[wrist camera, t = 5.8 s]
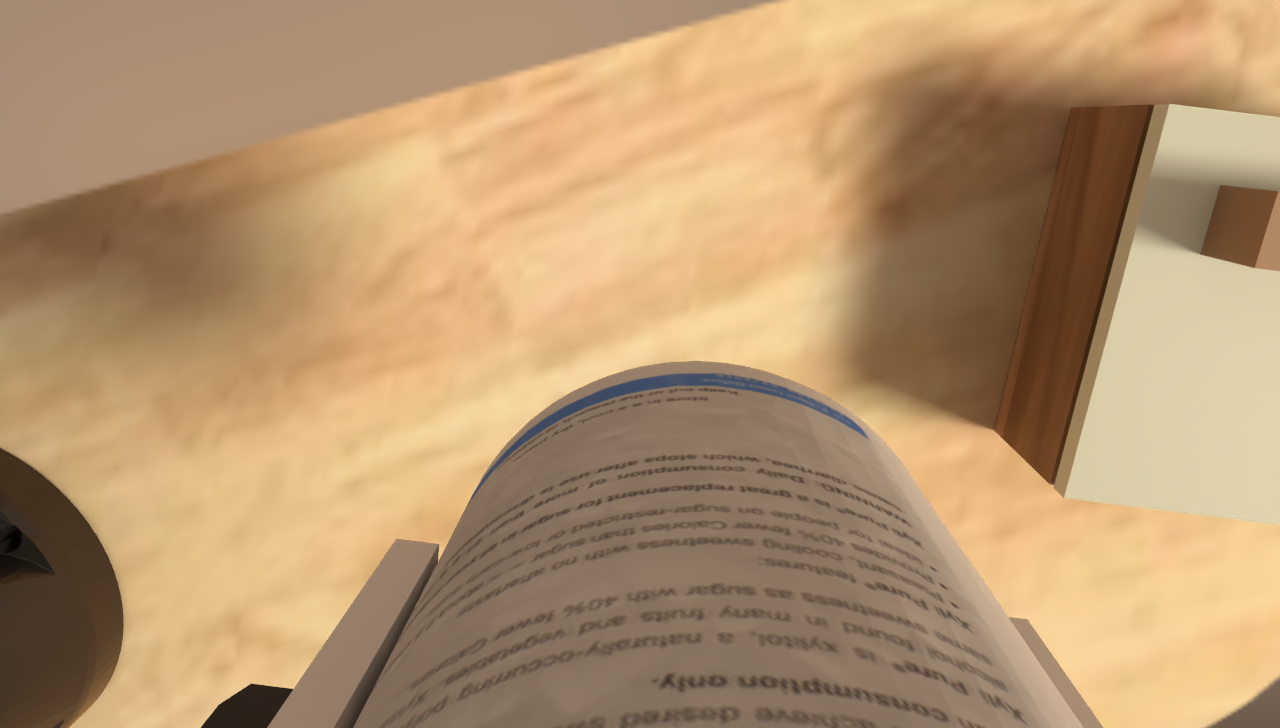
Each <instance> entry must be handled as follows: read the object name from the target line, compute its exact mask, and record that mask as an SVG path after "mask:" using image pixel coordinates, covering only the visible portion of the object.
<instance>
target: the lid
mask: <svg viewBox="0 0 1280 728" xmlns="http://www.w3.org/2000/svg"><path fill="white" fill-rule="evenodd" d="M1054 489H1055V490H1056V491H1057V492H1058V493H1059V494H1060V495H1061V496H1062V497H1063V498H1068V499H1076V500H1084V501H1092V502H1100V503H1108V504H1116V505H1124V506H1132V507H1140V508H1148V509H1156V510H1164V511H1172V512H1180V513H1188V514H1196V515H1204V516H1211V517H1219V518H1227V519H1235V520H1243V521H1251V522H1259V523H1267V524H1275V525H1280V117H1275V116H1267V115H1258V114H1250V113H1242V112H1234V111H1225V110H1217V109H1209V108H1200V107H1192V106H1184V105H1175V104H1155V105H1154V109H1153V112H1152V116H1151V120H1150V124H1149V128H1148V131H1147V135H1146V139H1145V143H1144V147H1143V150H1142V154H1141V158H1140V162H1139V166H1138V169H1137V173H1136V177H1135V181H1134V184H1133V188H1132V192H1131V196H1130V200H1129V203H1128V207H1127V211H1126V215H1125V219H1124V222H1123V226H1122V230H1121V234H1120V238H1119V241H1118V245H1117V249H1116V253H1115V257H1114V260H1113V264H1112V268H1111V272H1110V275H1109V279H1108V283H1107V287H1106V291H1105V294H1104V298H1103V302H1102V306H1101V310H1100V313H1099V317H1098V321H1097V325H1096V329H1095V332H1094V336H1093V340H1092V344H1091V348H1090V351H1089V355H1088V359H1087V363H1086V367H1085V370H1084V374H1083V378H1082V382H1081V385H1080V389H1079V393H1078V397H1077V401H1076V404H1075V408H1074V412H1073V416H1072V420H1071V423H1070V427H1069V431H1068V435H1067V439H1066V442H1065V446H1064V450H1063V454H1062V458H1061V461H1060V465H1059V469H1058V473H1057V476H1056V480H1055V484H1054Z"/></svg>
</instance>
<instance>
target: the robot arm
mask: <svg viewBox="0 0 1280 728" xmlns="http://www.w3.org/2000/svg"><path fill="white" fill-rule="evenodd" d="M438 552H439V544H433V543H425V542H417V541H409V540H401V539H396V540H395V542H394V543H393V545H392V546H391V548H390V549H389V551H388V552H387V553H386V555H385V556H384V558H383V559H382V561H381V562H380V564H379V565H378V567H377V568H376V570H375V571H374V572H373V574H372V575H371V577H370V578H369V580H368V581H367V583H366V584H365V586H364V587H363V589H362V590H361V591H360V593H359V594H358V596H357V597H356V599H355V600H354V602H353V603H352V605H351V606H350V607H349V609H348V610H347V612H346V613H345V615H344V616H343V618H342V619H341V621H340V622H339V624H338V625H337V626H336V628H335V629H334V631H333V632H332V634H331V635H330V637H329V638H328V640H327V641H326V643H325V644H324V645H323V647H322V648H321V650H320V651H319V653H318V654H317V656H316V657H315V659H314V660H313V662H312V663H311V664H310V666H309V667H308V669H307V670H306V672H305V673H304V675H303V676H302V678H301V679H300V681H299V682H298V683H297V685H296V686H295V688H294V689H288V688H280V687H272V686H265V685H257V684H250V685H249V686H247V687H246V688H244V689H242V690H241V691H239V692H238V693H236V694H235V695H233V696H232V697H230V698H229V699H227V700H226V701H224V702H222V703H221V704H219V705H218V707H217V708H216V709H215V710H214V712H213V713H212V714H211V715H210V717H209V718H208V719H207V720H206V722H205V723H204V724H203V725H202V727H201V728H353V727H354V725H355V723H356V721H357V719H358V717H359V715H360V714H361V712H362V710H363V708H364V706H365V704H366V702H367V700H368V698H369V696H370V694H371V692H372V690H373V688H374V686H375V684H376V682H377V680H378V678H379V676H380V674H381V672H382V670H383V669H384V667H385V665H386V663H387V661H388V659H389V657H390V655H391V653H392V651H393V649H394V647H395V645H396V643H397V641H398V639H399V637H400V635H401V633H402V631H403V629H404V627H405V625H406V623H407V622H408V620H409V618H410V616H411V614H412V612H413V610H414V608H415V606H416V604H417V602H418V600H419V598H420V596H421V594H422V592H423V590H424V588H425V586H426V584H427V582H428V580H429V578H430V577H431V575H432V573H433V571H434V569H435V567H436V565H437V563H438ZM1009 619H1010V620H1011V622H1012V623H1013V625H1014V626H1015V628H1016V629H1017V631H1018V632H1019V634H1020V635H1021V637H1022V638H1023V640H1024V641H1025V643H1026V644H1027V645H1028V647H1029V648H1030V650H1031V651H1032V653H1033V654H1034V656H1035V657H1036V659H1037V660H1038V662H1039V663H1040V665H1041V666H1042V668H1043V669H1044V671H1045V672H1046V673H1047V675H1048V676H1049V678H1050V679H1051V681H1052V682H1053V684H1054V685H1055V687H1056V688H1057V690H1058V691H1059V693H1060V694H1061V695H1062V697H1063V698H1064V700H1065V701H1066V703H1067V704H1068V706H1069V707H1070V709H1071V710H1072V712H1073V713H1074V714H1075V716H1076V717H1077V719H1078V720H1079V722H1080V723H1081V725H1082V726H1083V728H1103V727H1102V725H1101V724H1100V722H1099V721H1098V719H1097V718H1096V717H1095V715H1094V714H1093V712H1092V711H1091V709H1090V708H1089V707H1088V705H1087V704H1086V702H1085V701H1084V700H1083V698H1082V697H1081V695H1080V694H1079V692H1078V691H1077V690H1076V688H1075V687H1074V685H1073V684H1072V682H1071V681H1070V680H1069V678H1068V677H1067V675H1066V674H1065V672H1064V671H1063V670H1062V668H1061V667H1060V665H1059V664H1058V662H1057V661H1056V660H1055V658H1054V657H1053V655H1052V654H1051V652H1050V651H1049V650H1048V648H1047V647H1046V645H1045V644H1044V643H1043V641H1042V640H1041V638H1040V637H1039V635H1038V634H1037V633H1036V631H1035V630H1034V628H1033V627H1032V625H1031V624H1030V623H1029V621H1028V620H1027V619H1019V618H1012V617H1009ZM122 639H123V608H122V601H121V595H120V591H119V587H118V583H117V579H116V576H115V573H114V570H113V568H112V565H111V563H110V560H109V558H108V556H107V554H106V552H105V550H104V548H103V546H102V544H101V542H100V541H99V539H98V537H97V536H96V534H95V533H94V531H93V530H92V528H91V527H90V525H89V524H88V522H87V521H86V520H85V518H84V517H83V516H82V515H81V513H80V512H79V511H78V510H77V509H76V507H75V506H74V505H73V504H72V503H71V502H70V501H69V500H68V499H67V498H66V497H65V496H64V495H63V494H62V493H61V492H60V491H59V490H58V489H57V488H56V487H55V486H54V485H52V484H51V483H50V482H49V481H48V480H47V479H45V478H44V477H43V476H41V475H40V474H39V473H38V472H36V471H35V470H33V469H32V468H30V467H29V466H27V465H26V464H24V463H23V462H21V461H19V460H18V459H16V458H14V457H13V456H11V455H9V454H7V453H5V452H3V451H1V450H0V728H69V727H70V726H71V725H72V724H73V723H74V722H75V721H76V720H77V719H78V718H79V717H80V716H81V715H82V714H83V713H84V712H85V711H86V710H87V709H88V708H89V707H90V706H91V705H92V704H93V703H94V702H95V701H96V700H97V699H98V697H99V696H100V695H101V693H102V692H103V691H104V689H105V687H106V686H107V684H108V682H109V681H110V679H111V677H112V674H113V672H114V670H115V667H116V665H117V662H118V658H119V655H120V651H121V645H122Z"/></svg>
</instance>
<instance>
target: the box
mask: <svg viewBox="0 0 1280 728" xmlns="http://www.w3.org/2000/svg"><path fill="white" fill-rule="evenodd" d="M1153 109H1154V105H1131V106H1108V107H1085V108H1072V110H1071V114H1070V118H1069V122H1068V127H1067V131H1066V135H1065V139H1064V143H1063V147H1062V152H1061V156H1060V160H1059V164H1058V168H1057V172H1056V177H1055V181H1054V185H1053V189H1052V193H1051V197H1050V202H1049V206H1048V210H1047V214H1046V218H1045V223H1044V227H1043V231H1042V235H1041V239H1040V243H1039V248H1038V252H1037V256H1036V260H1035V264H1034V268H1033V273H1032V277H1031V281H1030V285H1029V289H1028V293H1027V298H1026V302H1025V306H1024V310H1023V314H1022V319H1021V323H1020V327H1019V331H1018V335H1017V339H1016V344H1015V348H1014V352H1013V356H1012V360H1011V364H1010V369H1009V373H1008V377H1007V381H1006V385H1005V389H1004V394H1003V398H1002V402H1001V406H1000V410H999V415H998V419H997V423H996V427H995V432H996V433H997V434H999V435H1000V436H1001V437H1002V438H1003V439H1004V440H1005V441H1006V442H1007V443H1008V444H1009V445H1010V446H1011V447H1012V448H1013V449H1014V450H1015V451H1016V452H1017V453H1018V454H1019V455H1020V456H1021V457H1022V458H1023V459H1024V460H1025V461H1026V462H1027V463H1028V464H1029V465H1030V466H1032V467H1033V468H1034V469H1035V470H1036V471H1037V472H1038V473H1039V474H1040V475H1041V476H1042V477H1043V478H1044V479H1045V480H1046V481H1047V482H1048V483H1049V484H1052V485H1054V484H1055V480H1056V476H1057V473H1058V469H1059V465H1060V461H1061V458H1062V454H1063V450H1064V446H1065V442H1066V439H1067V435H1068V431H1069V427H1070V423H1071V420H1072V416H1073V412H1074V408H1075V404H1076V401H1077V397H1078V393H1079V389H1080V385H1081V382H1082V378H1083V374H1084V370H1085V367H1086V363H1087V359H1088V355H1089V351H1090V348H1091V344H1092V340H1093V336H1094V332H1095V329H1096V325H1097V321H1098V317H1099V313H1100V310H1101V306H1102V302H1103V298H1104V294H1105V291H1106V287H1107V283H1108V279H1109V275H1110V272H1111V268H1112V264H1113V260H1114V257H1115V253H1116V249H1117V245H1118V241H1119V238H1120V234H1121V230H1122V226H1123V222H1124V219H1125V215H1126V211H1127V207H1128V203H1129V200H1130V196H1131V192H1132V188H1133V184H1134V181H1135V177H1136V173H1137V169H1138V166H1139V162H1140V158H1141V154H1142V150H1143V147H1144V143H1145V139H1146V135H1147V131H1148V128H1149V124H1150V120H1151V116H1152V112H1153Z"/></svg>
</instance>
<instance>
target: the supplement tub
mask: <svg viewBox="0 0 1280 728" xmlns="http://www.w3.org/2000/svg"><path fill="white" fill-rule="evenodd" d="M353 728H1083V726H1082V725H1081V723H1080V722H1079V720H1078V719H1077V717H1076V716H1075V714H1074V713H1073V712H1072V710H1071V709H1070V707H1069V706H1068V704H1067V703H1066V701H1065V700H1064V698H1063V697H1062V695H1061V694H1060V693H1059V691H1058V690H1057V688H1056V687H1055V685H1054V684H1053V682H1052V681H1051V679H1050V678H1049V676H1048V675H1047V673H1046V672H1045V671H1044V669H1043V668H1042V666H1041V665H1040V663H1039V662H1038V660H1037V659H1036V657H1035V656H1034V654H1033V653H1032V651H1031V650H1030V648H1029V647H1028V645H1027V644H1026V643H1025V641H1024V640H1023V638H1022V637H1021V635H1020V634H1019V632H1018V631H1017V629H1016V628H1015V626H1014V625H1013V623H1012V622H1011V620H1010V619H1009V617H1008V616H1007V615H1006V613H1005V612H1004V610H1003V609H1002V607H1001V606H1000V604H999V603H998V601H997V600H996V598H995V597H994V595H993V594H992V592H991V591H990V590H989V588H988V587H987V585H986V584H985V582H984V581H983V580H982V578H981V577H980V575H979V574H978V572H977V571H976V569H975V568H974V567H973V565H972V564H971V562H970V561H969V559H968V558H967V556H966V555H965V554H964V552H963V551H962V549H961V548H960V546H959V545H958V544H957V542H956V541H955V539H954V538H953V536H952V535H951V533H950V532H949V530H948V529H947V528H946V526H945V525H944V523H943V522H942V520H941V519H940V517H939V516H938V515H937V513H936V512H935V510H934V509H933V507H932V506H931V504H930V503H929V501H928V500H927V498H926V497H925V496H924V494H923V493H922V491H921V490H920V488H919V487H918V485H917V484H916V482H915V481H914V479H913V477H912V476H911V474H910V473H909V471H908V470H907V469H906V467H905V466H904V464H903V463H902V461H901V460H900V459H899V458H898V457H897V455H896V454H895V453H894V452H893V451H892V449H891V448H890V447H889V446H888V445H887V444H886V442H884V441H883V440H882V439H881V438H880V437H879V436H878V435H877V434H876V433H875V432H874V431H873V430H872V429H871V428H870V427H869V426H868V425H867V424H865V423H864V422H863V421H862V420H860V419H859V418H858V417H857V416H855V415H854V414H853V413H852V412H850V411H849V410H847V409H846V408H844V407H843V406H841V405H840V404H838V403H837V402H835V401H833V400H832V399H830V398H829V397H827V396H825V395H823V394H821V393H819V392H817V391H815V390H813V389H811V388H809V387H806V386H804V385H801V384H799V383H797V382H794V381H792V380H789V379H786V378H783V377H780V376H778V375H775V374H772V373H769V372H766V371H762V370H758V369H754V368H750V367H745V366H740V365H734V364H728V363H718V362H703V361H689V362H670V363H662V364H655V365H648V366H642V367H638V368H634V369H630V370H626V371H623V372H619V373H616V374H613V375H610V376H607V377H605V378H602V379H599V380H597V381H594V382H592V383H590V384H588V385H586V386H584V387H582V388H579V389H577V390H575V391H573V392H571V393H569V394H568V395H566V396H564V397H563V398H561V399H559V400H558V401H556V402H554V403H553V404H552V405H550V406H549V407H547V408H546V409H545V410H543V411H542V412H541V413H539V414H538V415H537V416H536V417H534V418H533V419H532V420H530V421H529V422H528V423H527V424H526V425H525V426H524V427H523V428H522V429H521V430H520V431H519V432H518V433H517V434H516V435H515V436H514V437H513V438H512V439H511V440H510V441H509V442H508V443H507V444H506V446H505V447H504V448H503V449H502V451H501V452H500V453H499V454H498V456H497V457H496V458H495V459H494V461H493V462H492V463H491V465H490V466H489V468H488V469H487V471H486V473H485V474H484V476H483V477H482V479H481V481H480V483H479V485H478V487H477V489H476V490H475V492H474V493H473V495H472V497H471V499H470V501H469V503H468V505H467V507H466V509H465V511H464V513H463V515H462V517H461V518H460V520H459V522H458V524H457V526H456V528H455V530H454V532H453V534H452V536H451V538H450V540H449V542H448V544H447V546H446V548H445V550H444V552H443V554H442V556H441V558H440V560H439V562H438V563H437V565H436V567H435V569H434V571H433V573H432V575H431V577H430V578H429V580H428V582H427V584H426V586H425V588H424V590H423V592H422V594H421V596H420V598H419V600H418V602H417V604H416V606H415V608H414V610H413V612H412V614H411V616H410V618H409V620H408V622H407V623H406V625H405V627H404V629H403V631H402V633H401V635H400V637H399V639H398V641H397V643H396V645H395V647H394V649H393V651H392V653H391V655H390V657H389V659H388V661H387V663H386V665H385V667H384V669H383V670H382V672H381V674H380V676H379V678H378V680H377V682H376V684H375V686H374V688H373V690H372V692H371V694H370V696H369V698H368V700H367V702H366V704H365V706H364V708H363V710H362V712H361V714H360V715H359V717H358V719H357V721H356V723H355V725H354V727H353Z"/></svg>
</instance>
